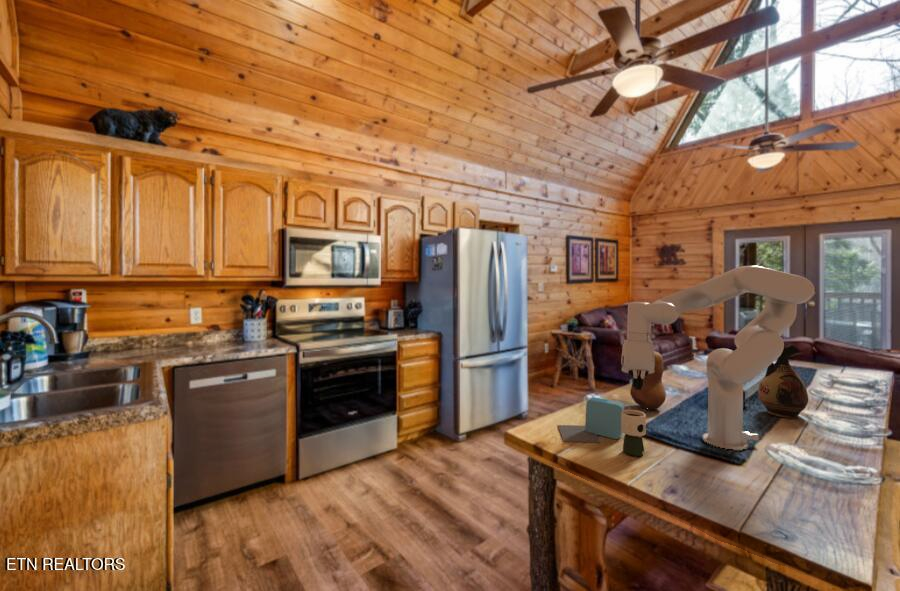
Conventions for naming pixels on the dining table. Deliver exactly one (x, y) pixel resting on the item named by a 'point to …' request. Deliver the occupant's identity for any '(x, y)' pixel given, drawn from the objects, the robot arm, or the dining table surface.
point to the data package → (604, 417)
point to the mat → (577, 434)
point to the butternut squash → (651, 387)
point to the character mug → (633, 431)
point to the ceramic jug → (783, 387)
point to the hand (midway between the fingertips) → (637, 388)
